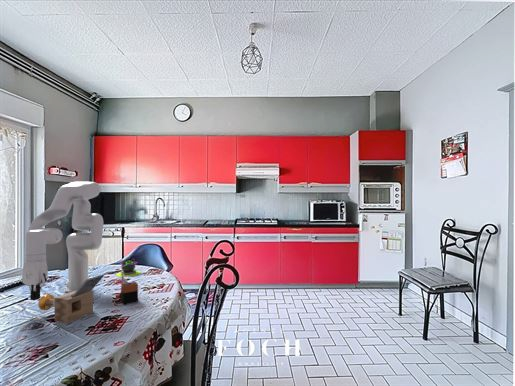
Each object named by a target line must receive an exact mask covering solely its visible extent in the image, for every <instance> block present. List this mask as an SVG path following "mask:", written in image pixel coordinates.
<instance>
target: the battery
mask: <svg viewBox="0 0 515 386" xmlns="http://www.w3.org/2000/svg"><path fill="white" fill-rule="evenodd" d="M138 302H139V284H138V283H137V282H136V281H135V280H132V281H131V282H129V281H124V284H122V298H121V304H123V305H129V304H135V303H138Z"/></svg>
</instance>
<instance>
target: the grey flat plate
mask: <svg viewBox="0 0 515 386" xmlns="http://www.w3.org/2000/svg"><path fill="white" fill-rule="evenodd" d="M104 277H105V274H100V275H97V276H93V277H90V278H88V279H87V280H85V281H84V283H83V284H82V285H81V286H80V287H79V289H78V290H77V291H76V292H75V293H74V294H73V295H71V297H72V298H74V297H77V296H80V295H82V294H85V293H88V292H91V291H93V289H94V288H95V287H96V286H97V285H98V284H99V282H100V281H101V280H102V279H103V278H104Z"/></svg>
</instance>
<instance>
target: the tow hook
mask: <svg viewBox="0 0 515 386" xmlns="http://www.w3.org/2000/svg"><path fill="white" fill-rule="evenodd" d="M121 272H122V277H121V279H120V280H121V283H120V284H121V286H120V292H119V293H118V294H115V298H119V299H122V284H124V282H125V277H124V272H123V271H121Z"/></svg>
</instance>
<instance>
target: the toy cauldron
mask: <svg viewBox="0 0 515 386" xmlns="http://www.w3.org/2000/svg"><path fill="white" fill-rule="evenodd" d="M121 261H122V262H120V263H119V266H120V267H121V271H120V272H118V273H116V276H117V277H120V278H122V272H124V278H125V277H134V276H137V275H140V274H141V271H140V270H136V269H135V268H136V264H137V263H138V261H135V258H133V261H132V260H127V261H124V259H123V260H121Z"/></svg>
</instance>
